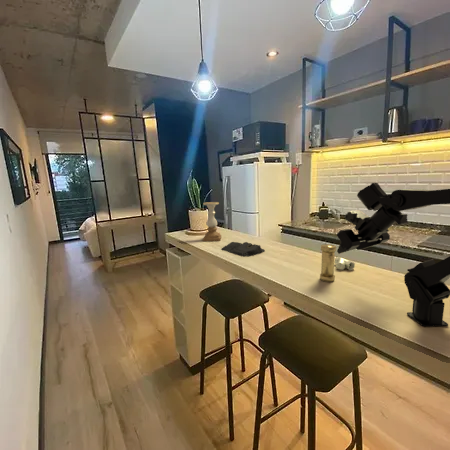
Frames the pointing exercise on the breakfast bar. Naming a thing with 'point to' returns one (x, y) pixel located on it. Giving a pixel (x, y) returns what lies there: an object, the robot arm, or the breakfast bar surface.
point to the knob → (327, 263)
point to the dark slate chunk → (243, 249)
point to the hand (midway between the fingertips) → (347, 250)
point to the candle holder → (211, 223)
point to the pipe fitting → (344, 264)
